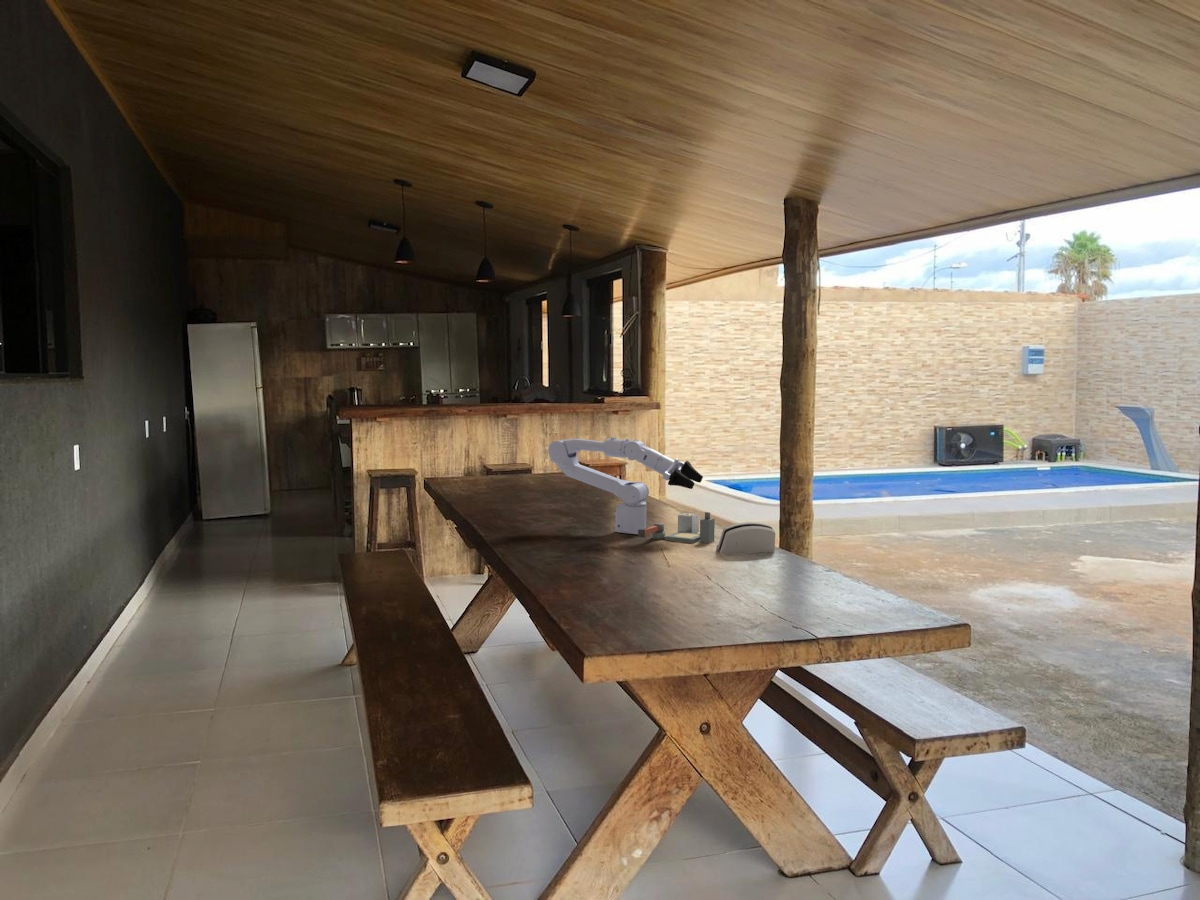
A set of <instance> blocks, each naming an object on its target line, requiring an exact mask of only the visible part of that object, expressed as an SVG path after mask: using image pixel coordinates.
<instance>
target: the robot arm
mask: <svg viewBox="0 0 1200 900" xmlns="http://www.w3.org/2000/svg"><path fill="white" fill-rule="evenodd" d="M547 450H548V451H547V452H548V456H549V458H550V461H551V462H552V463H554V464H555V465H556V466H557V467H558V468H559V469H560V471H561V472H562V473H563V474H564V475H565V476H567V477H569V478H572V479H574V480H577V481H580V482H583V483H585V484H587V485H590V486H592V487H595V488H597V489H600V490H603V491H606V492H609V493H612V494H614V495H615V496H616V498H618V499H620V500H622V501H623V503H619V504H618V505H617V506H616V508H615V523H614V524H615V526H614V527H615V529H614V530H613V531H614V532H615V533H623V534H631V535H638V530H639V529H646V528H647V502H646V499H648V497H649V494H650V489H649V487H648V485H647V484H646V483H645V482H642V481H635V482H634V481H631V480H627V479H626V480H625V479H621V478H617V477H615V476H612V475H609V474H607V473H604V472H601V471H599V470H596V469H594V468H591V467H588V466H585V465H584V464H583V465H582V464H580V463H579V459H578V453H579V452H581V451H586V452H587V451H588V452H589V451H590V452H601V453H603V454H604V455H605V456H606V457H612V458H621V459H622V458H623V459H626V458H627V460H629V461H636V462H638V463H640V464H642V465H644V466H645V467H647V468H649V469H650V470H653V471H654V472H656V473H658V474H660V475H662V479H664V480H665V481H668V483H667V485H668V486H676V487H683V488H687V489H689V490H692V489H693V488H694V485H695V482H696V483H700V484H701V482H702V481H703V478H704V476H703V475H702V474H701V473H699V471H697V470H696V469H695V468H694V467H693V466H692V464H691V462H689V460H686V461H685V462H683V461H680V459H679V458H678V457H677V458H675V459H673V458H670V457H668V456H667V455H665V454H662V452H659V451H657V450H655V449H653V448H651V447H649V446H647V445H646V444H645V443H644V442H643V441H641V440H638V439H634V440H632V441H631V439H630V438H625V439H617V437H615V436H612V437H611V436H610V438H606V439H605V440H604V441H600V440H599V441H598V440H594V439H593V440H592V439H584V438H564V439H561V440H554V441H552V442H551V443H550V444H549V446H548V449H547Z"/></svg>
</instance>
